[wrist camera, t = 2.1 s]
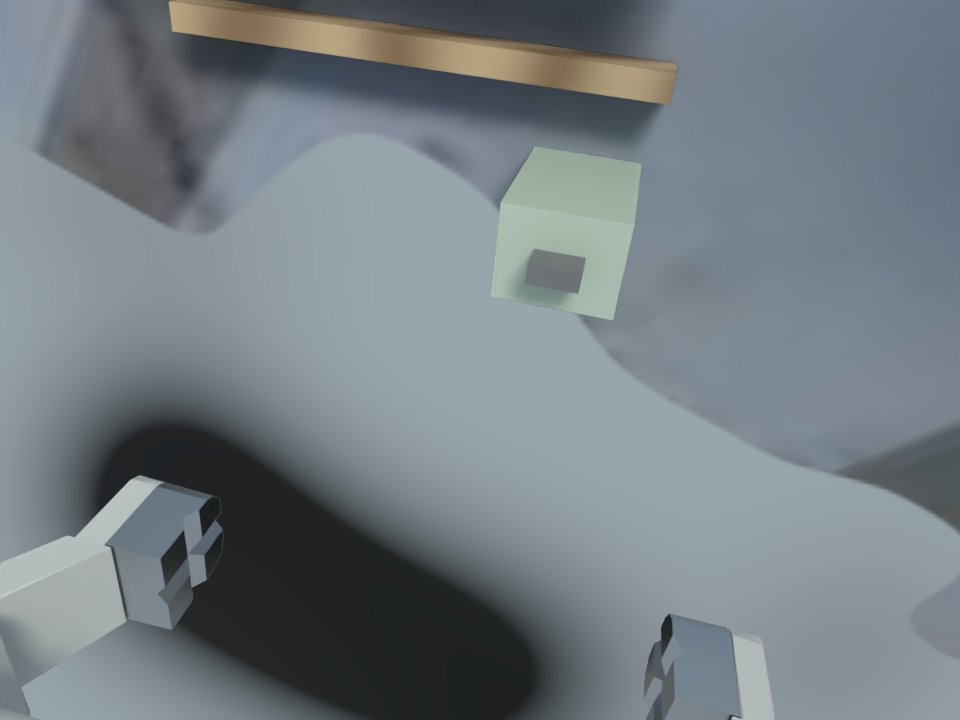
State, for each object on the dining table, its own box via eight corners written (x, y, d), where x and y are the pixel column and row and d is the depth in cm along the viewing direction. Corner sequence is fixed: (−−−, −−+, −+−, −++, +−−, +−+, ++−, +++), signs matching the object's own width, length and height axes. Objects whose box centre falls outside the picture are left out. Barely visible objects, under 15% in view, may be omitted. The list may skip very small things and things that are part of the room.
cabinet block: (641, 163, 32) (632, 240, 24) (623, 244, 34) (610, 339, 27) (534, 146, 33) (492, 215, 25) (523, 226, 35) (481, 313, 27)
